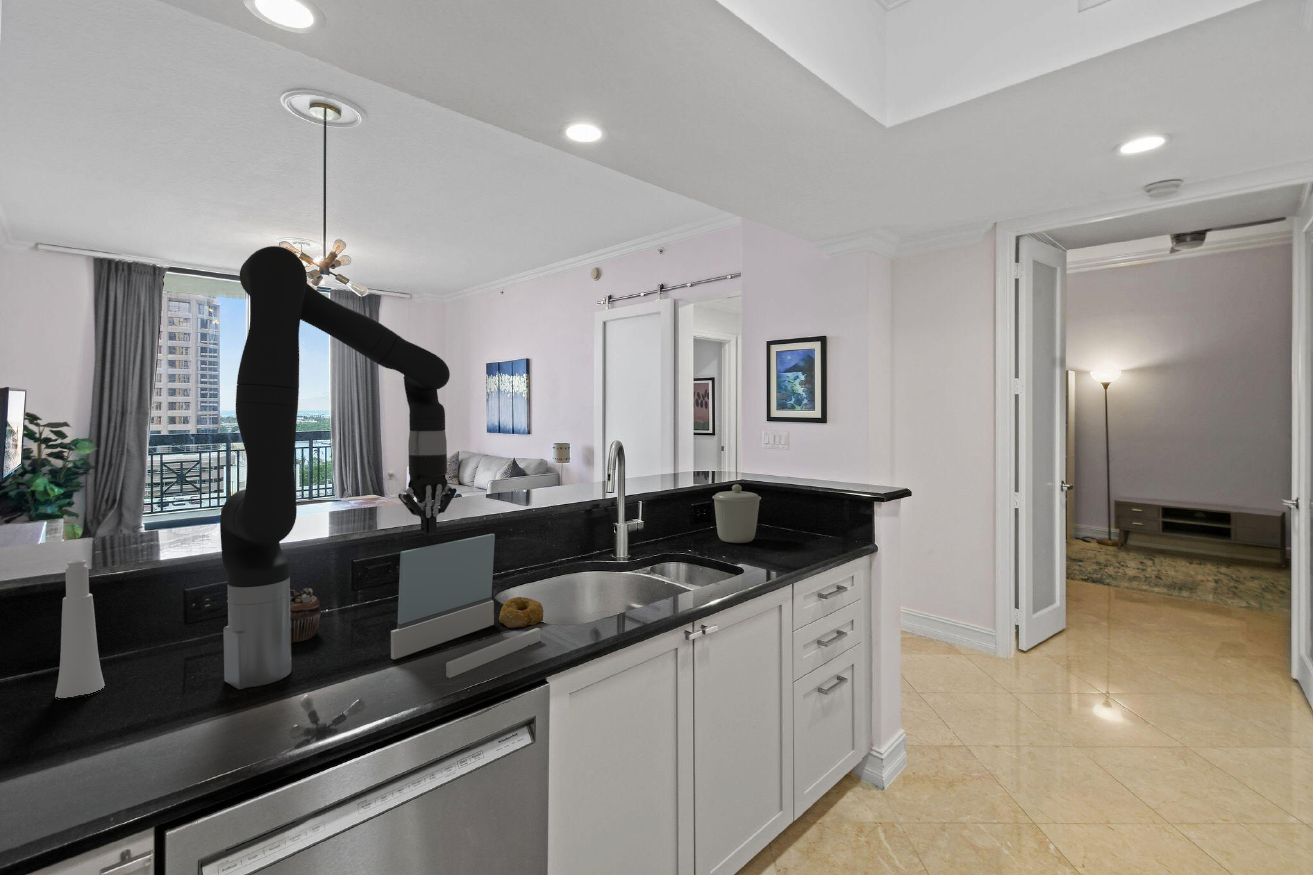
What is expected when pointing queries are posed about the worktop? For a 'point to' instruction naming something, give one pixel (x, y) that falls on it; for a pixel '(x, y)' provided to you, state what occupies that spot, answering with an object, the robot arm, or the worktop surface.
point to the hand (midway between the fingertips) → (429, 534)
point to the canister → (736, 515)
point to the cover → (444, 579)
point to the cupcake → (303, 614)
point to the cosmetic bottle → (78, 637)
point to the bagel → (521, 612)
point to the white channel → (454, 627)
